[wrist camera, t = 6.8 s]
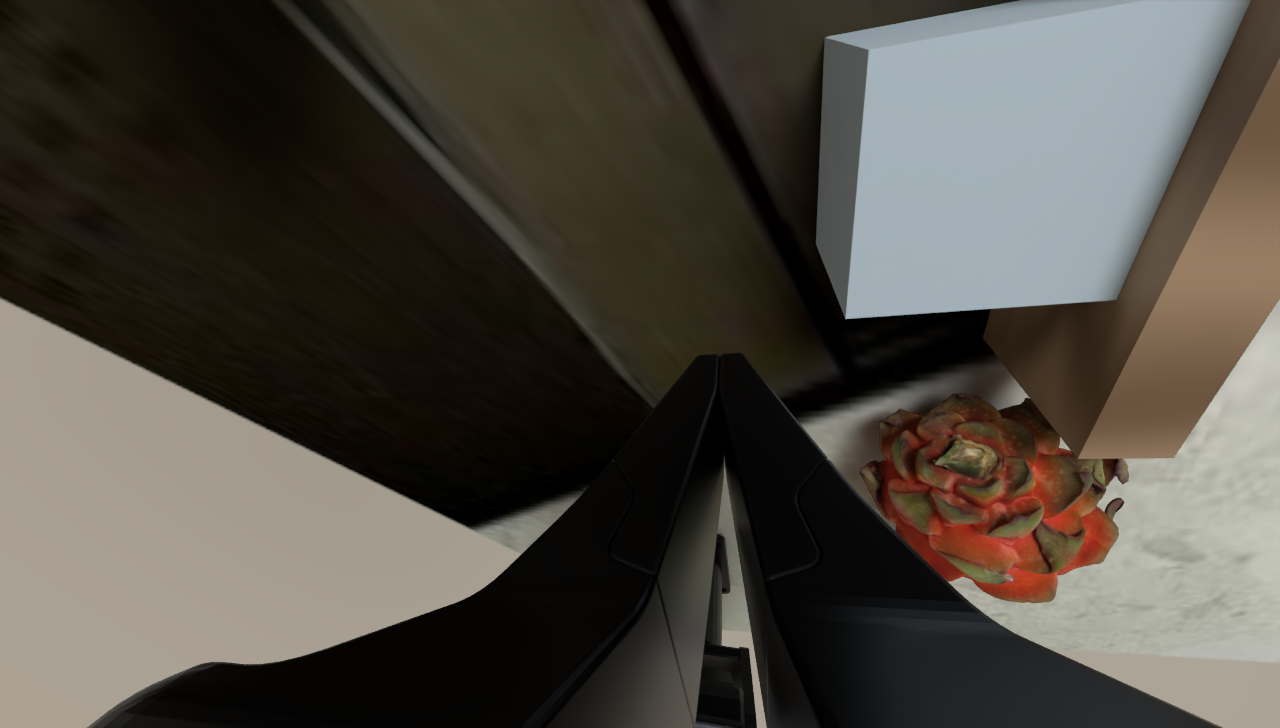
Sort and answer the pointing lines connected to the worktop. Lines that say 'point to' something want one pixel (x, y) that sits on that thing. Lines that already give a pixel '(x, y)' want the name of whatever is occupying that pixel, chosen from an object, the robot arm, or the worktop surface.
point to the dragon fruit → (993, 496)
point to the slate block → (1007, 149)
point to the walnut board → (1171, 280)
